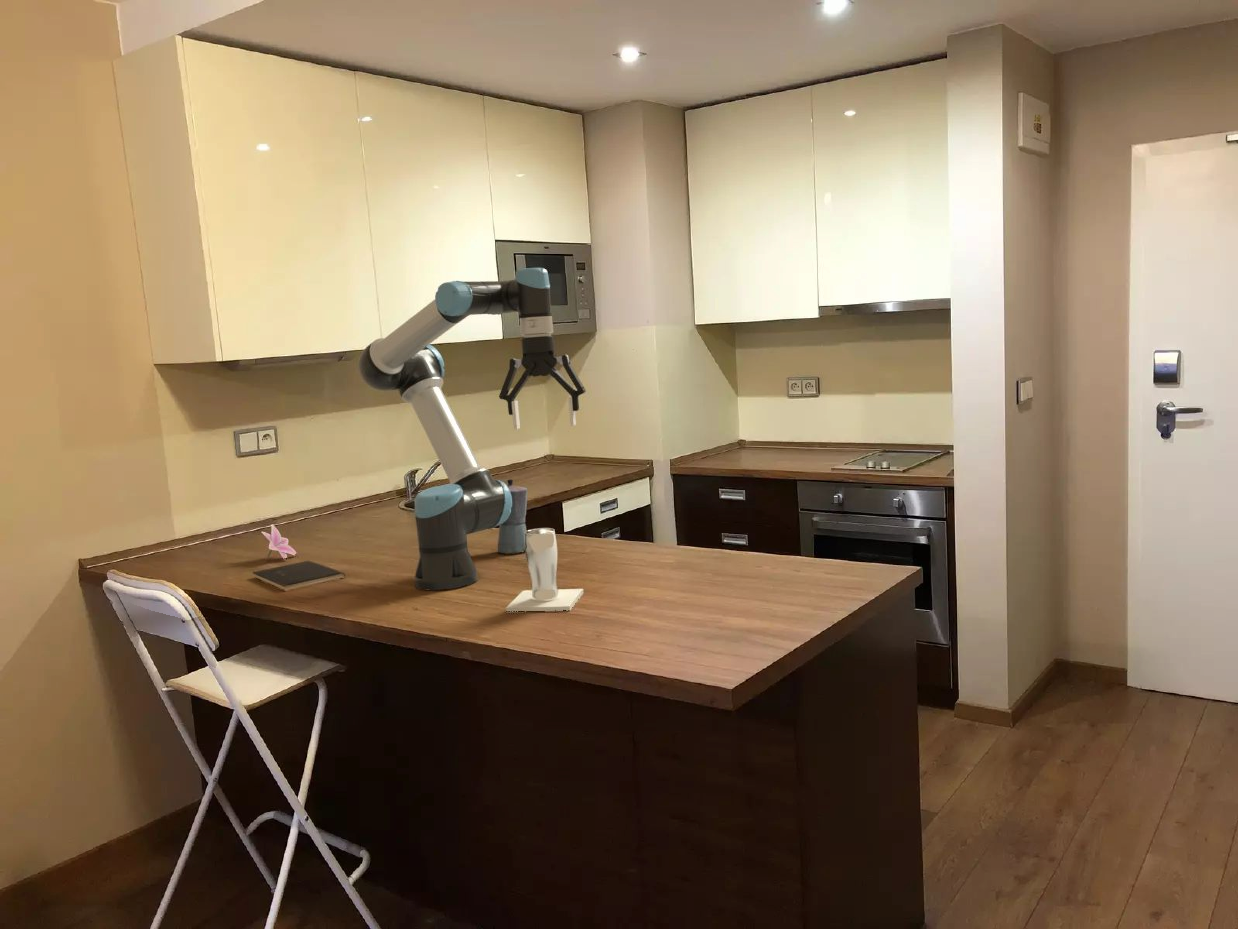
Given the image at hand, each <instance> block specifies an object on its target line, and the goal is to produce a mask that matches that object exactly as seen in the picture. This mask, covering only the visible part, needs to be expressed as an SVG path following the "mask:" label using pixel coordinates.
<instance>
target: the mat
mask: <svg viewBox="0 0 1238 929" xmlns="http://www.w3.org/2000/svg"><path fill="white" fill-rule="evenodd" d="M584 591H585V590H584V588H567V589H566V588H565V589H561V588H560V589H558V592H559V598H557V599H555V600H552V601H545V602H537V601H533V600H532V589H530V590H526V589H525V590H522V591H521V592H520V593H519V594H518V595H517V596H516V597H515V598H514V599H513V600H512V601H511V602H510V603H509V604H508V605H507V606H506V607H505V612H506V611H510V612H509V613H519V612H518V611H525V612H524V613H527V612H526V611H545V612H564V611H563V610H566V611H565V612H569V611H568V610H570V611H571V610H573V608H574V606H575V605H576V604H577V603H578V601H579V600H580V599H581V597H582V596H583V595H584ZM578 599H579V600H578ZM575 603H576V604H575ZM572 607H573V608H572ZM555 610H556V611H555ZM511 611H512V612H511ZM513 611H515V612H513ZM516 611H517V612H516Z"/></svg>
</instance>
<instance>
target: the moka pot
mask: <svg viewBox="0 0 1238 929" xmlns="http://www.w3.org/2000/svg"><path fill="white" fill-rule="evenodd" d="M513 484H514V480H513V479H507V487H508V488H509V490H510V493H511V496H512V507H511V513H510V515H509V517H508V519H507V520H506V521H505V522H504V523H503V524H501V525H498V526H499V527H498V528H499V529H498V539H497V552H498V553H499V552H500V554H504V553H505V554H506V555H508V553H509V554H510V553H513V554H519V553H518V552H522V551H525V532H526V531H528V530H527V525H526V515H527V504H528V487H523V486H519V485H513ZM522 553H523V552H522Z"/></svg>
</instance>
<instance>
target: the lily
mask: <svg viewBox="0 0 1238 929" xmlns="http://www.w3.org/2000/svg"><path fill="white" fill-rule="evenodd" d="M270 526H271V532H270V533H268V532H265V531H261V534H262V535H264V537H265V538H266V539H267V540H268V541H269V545H268V549H269V550H270V551H269V553H268V554H267V557H268V558H269V556H270V555H271V553H272V551H278V552H279V554H280V555H281V557H282V558H283V559H284V558H287V559H288V555H287V554H289V555H293V556H295V554H296V553H297V551H296V550H295V549H294V548H293V547H292V546H291V545H289V539H288V538H287V537H282V535H281V533H280V531H279V530H278V528H276V525H274V524H273V523H272V524H271V525H270ZM267 557H266V558H267Z"/></svg>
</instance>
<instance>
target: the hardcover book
mask: <svg viewBox="0 0 1238 929" xmlns="http://www.w3.org/2000/svg"><path fill="white" fill-rule="evenodd" d="M252 574H254V577H255V576H256V577H258V578H261V579H263V580H265V581H267V582H270V583H272V584H274V585H277V586H279V587H280V588H282V589H290V588H294V587H298V586H302V585H309V584H313V583H317V582H324V581H327V580H331V579H334V578H340V577H344V576H345V577H346V573H345V572H343V571H340V570H337V569H334V568H331V567H328V566H326V565H323V564H320V563H317V562H314V561H311V560H304V561H300V562H296V563H295V562H294V563H291V564H287V565H280V566H275V567H271V568H266V569H261V570H257V571H253V572H252Z"/></svg>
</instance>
